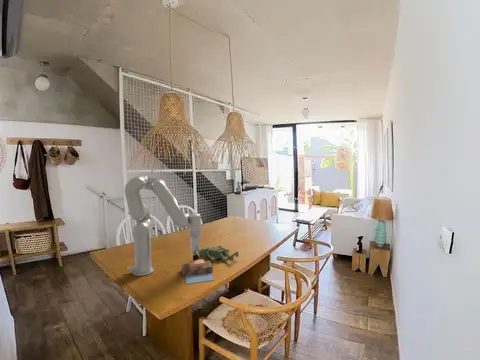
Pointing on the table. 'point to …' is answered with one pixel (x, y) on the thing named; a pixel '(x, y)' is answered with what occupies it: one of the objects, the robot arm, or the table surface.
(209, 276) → the mat
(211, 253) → the toy
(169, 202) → the robot arm
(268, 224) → the table surface
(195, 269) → the plate
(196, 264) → the tan flat block
